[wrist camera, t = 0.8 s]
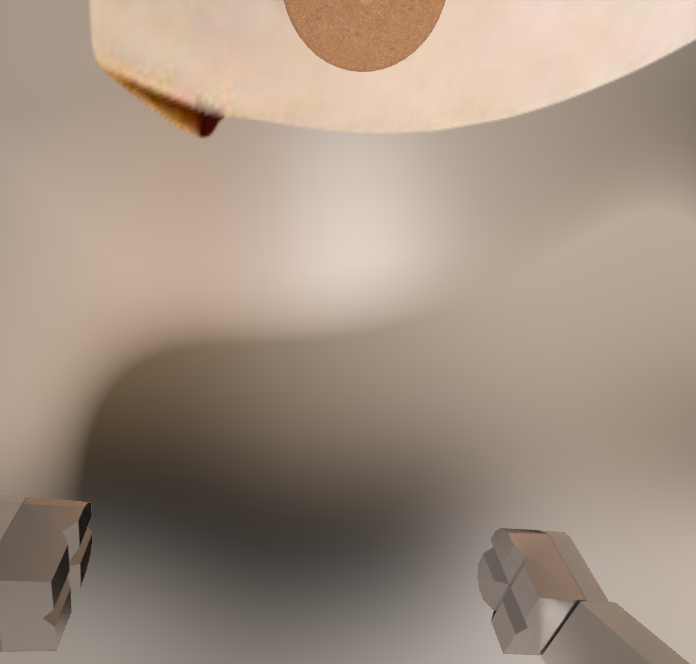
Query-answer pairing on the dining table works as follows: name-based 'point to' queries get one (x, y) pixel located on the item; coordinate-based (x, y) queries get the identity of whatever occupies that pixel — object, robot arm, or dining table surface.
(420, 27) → the lidded bowl
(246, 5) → the dining table surface
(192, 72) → the dining table surface
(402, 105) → the dining table surface
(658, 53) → the dining table surface
